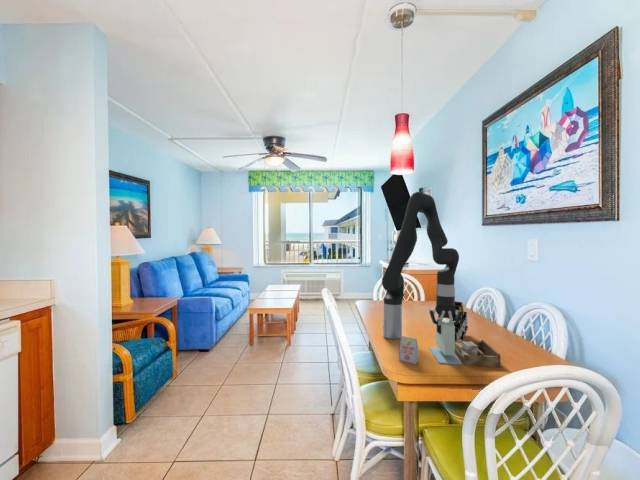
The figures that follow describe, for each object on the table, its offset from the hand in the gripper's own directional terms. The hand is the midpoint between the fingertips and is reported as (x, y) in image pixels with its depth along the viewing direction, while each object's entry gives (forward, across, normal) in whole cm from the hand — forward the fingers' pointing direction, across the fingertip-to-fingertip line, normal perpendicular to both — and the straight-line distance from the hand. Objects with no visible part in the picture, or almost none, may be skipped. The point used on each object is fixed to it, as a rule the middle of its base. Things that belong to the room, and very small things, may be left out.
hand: (445, 333), depth 142 cm
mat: (+10, 0, 0) cm, 10 cm away
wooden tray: (+10, +12, 0) cm, 16 cm away
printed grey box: (+10, -17, -8) cm, 21 cm away
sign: (+10, +14, +25) cm, 30 cm away
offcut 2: (+6, +9, -5) cm, 11 cm away
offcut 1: (+10, +9, +4) cm, 14 cm away
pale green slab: (+7, 0, 0) cm, 7 cm away
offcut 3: (+10, +9, -5) cm, 14 cm away
